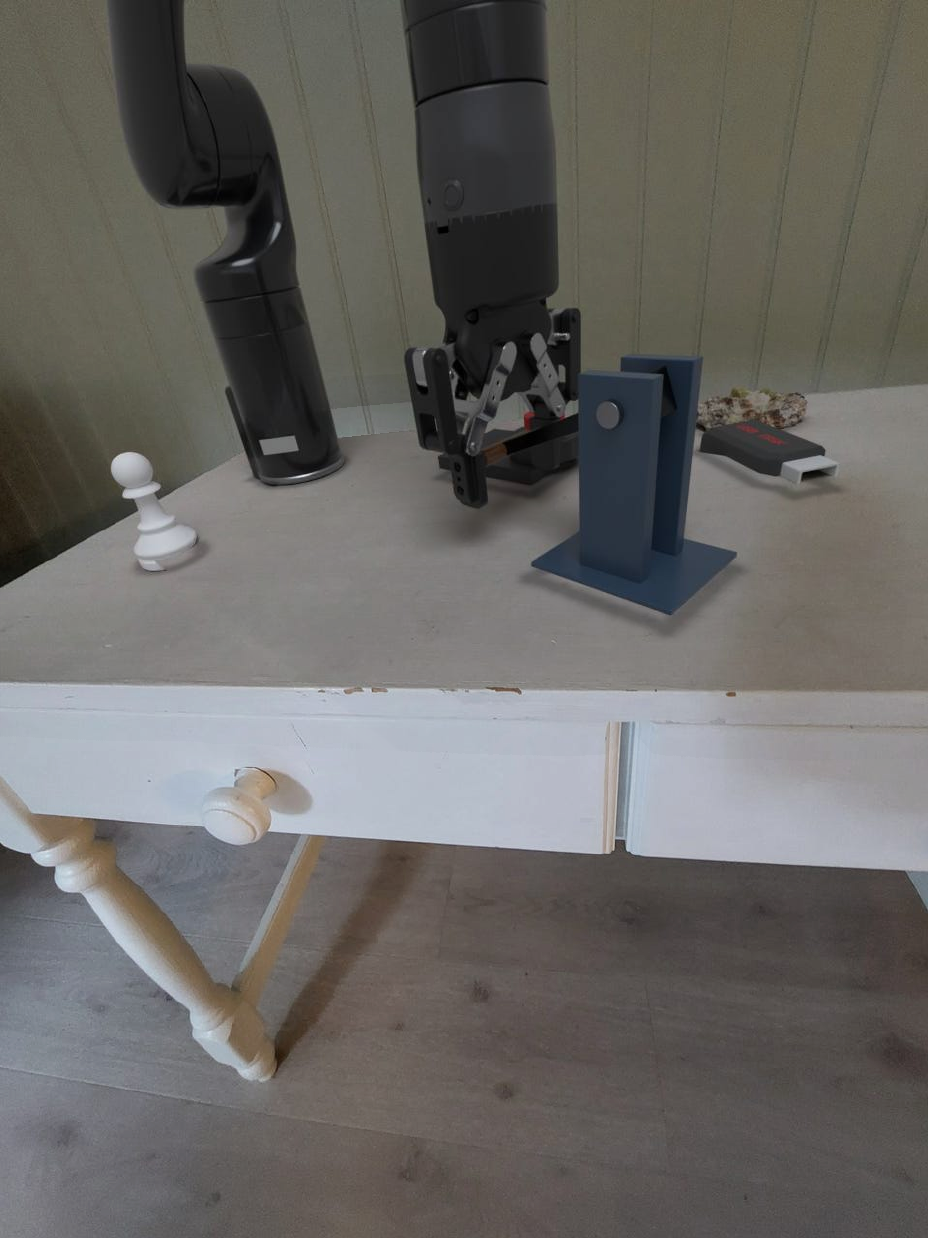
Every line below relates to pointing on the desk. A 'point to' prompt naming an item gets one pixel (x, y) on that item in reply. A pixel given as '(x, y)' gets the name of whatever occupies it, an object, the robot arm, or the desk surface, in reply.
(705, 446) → the usb drive
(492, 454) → the switch lever
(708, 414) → the mineral rock
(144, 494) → the chess pawn
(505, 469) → the box
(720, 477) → the desk surface
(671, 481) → the stand
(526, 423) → the red button
